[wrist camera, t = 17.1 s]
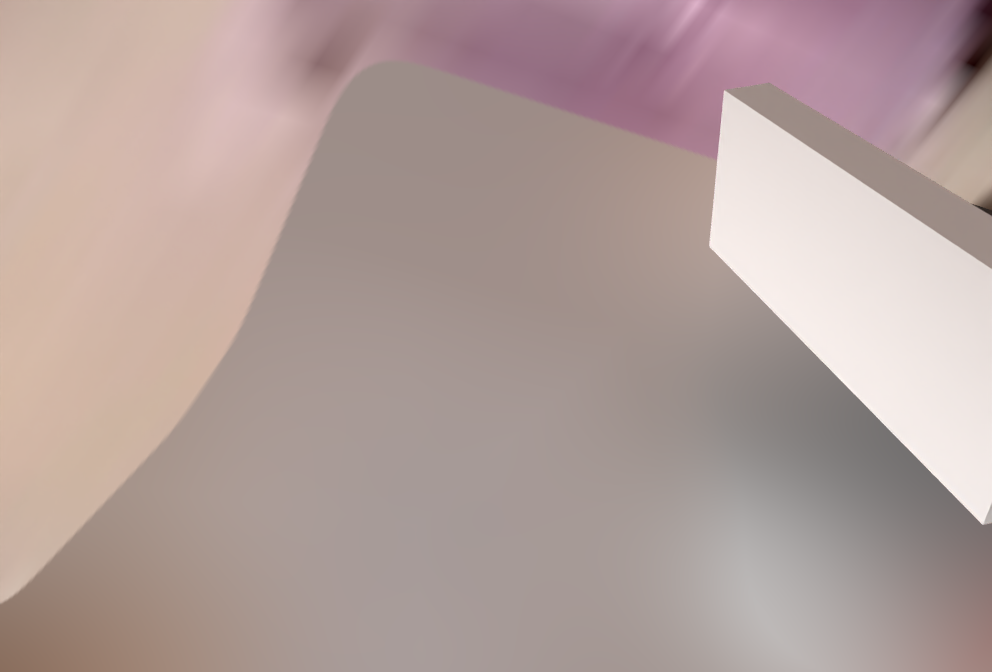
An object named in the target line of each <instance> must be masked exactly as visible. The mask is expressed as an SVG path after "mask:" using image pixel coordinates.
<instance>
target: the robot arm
mask: <svg viewBox="0 0 992 672" xmlns="http://www.w3.org/2000/svg"><path fill="white" fill-rule="evenodd" d="M709 246H710V247H711V249H713V251H714V252H715V253H717V255H718V256H719V257H720V258H721V259H722V260H723V261H724V262H725V263H726V264H727V265H728V266H729V267H730V268H731V269H732V270H733V271H734V272H735V273H736V274H737V275H738V276H739V277H740V278H741V279H742V280H743V281H744V282H745V283H746V284H747V285H748V286H749V287H750V288H751V289H752V290H753V291H754V292H755V293H756V294H757V295H758V296H759V297H760V298H761V299H762V300H763V301H764V302H765V304H766V305H768V307H769V308H770V309H772V311H773V312H775V314H776V315H777V316H779V318H780V319H781V320H782V321H783V322H784V323H785V324H786V325H787V326H788V327H789V328H790V329H791V330H792V331H793V332H794V333H795V334H796V335H797V336H798V337H799V338H800V339H801V340H802V341H803V342H804V343H805V344H806V345H807V346H808V347H809V348H810V349H811V350H812V351H813V352H814V353H815V354H816V355H817V356H818V357H819V358H820V360H821V361H822V362H823V363H824V364H826V366H827V367H828V368H829V369H830V370H831V371H832V372H833V373H834V374H835V375H836V376H837V377H838V378H839V379H840V380H841V381H842V382H843V383H844V384H845V385H846V386H847V387H848V388H849V389H850V390H851V391H852V392H853V393H854V394H855V395H856V396H857V397H858V398H859V399H860V400H861V401H862V402H863V403H864V404H865V405H866V406H867V407H868V408H869V409H870V410H871V411H872V412H873V413H874V414H875V416H876V417H877V418H879V420H880V421H881V422H882V423H883V424H884V425H885V426H886V427H887V428H888V429H889V430H890V431H891V432H892V433H893V434H894V435H895V436H896V437H897V438H898V439H899V440H900V441H901V442H902V443H903V444H904V445H905V446H906V447H907V448H908V449H909V450H910V451H911V452H912V453H913V454H914V455H915V456H916V457H917V458H918V459H919V460H920V461H921V462H922V463H923V464H924V465H925V466H926V467H927V469H929V471H930V472H931V473H932V474H933V475H934V476H935V477H936V478H937V479H938V480H939V481H940V482H941V483H942V484H943V485H944V486H945V487H946V488H947V489H948V490H949V491H950V492H951V493H952V494H953V495H954V496H955V497H956V498H957V499H958V500H959V501H960V502H961V503H962V504H963V505H964V506H965V507H966V508H967V509H968V510H969V511H970V512H971V513H972V514H973V515H974V516H975V517H976V518H977V519H978V520H979V521H980V522H981V523H982V525H985V524H988V523H992V210H989V209H986V208H983V207H980V206H977V205H974V204H971V203H969V202H967V201H966V200H964V199H962V198H961V197H959V196H957V195H956V194H954V193H952V192H951V191H949V190H947V189H946V188H944V187H942V186H941V185H939V184H937V183H936V182H934V181H932V180H931V179H929V178H927V177H926V176H924V175H922V174H921V173H919V172H917V171H916V170H914V169H912V168H911V167H909V166H907V165H906V164H904V163H902V162H901V161H899V160H897V159H896V158H894V157H892V156H891V155H889V154H887V153H886V152H884V151H882V150H881V149H879V148H877V147H875V146H874V145H872V144H870V143H869V142H867V141H865V140H864V139H862V138H860V137H859V136H857V135H855V134H854V133H852V132H850V131H849V130H847V129H845V128H844V127H842V126H840V125H839V124H837V123H835V122H834V121H832V120H830V119H829V118H827V117H825V116H824V115H822V114H820V113H819V112H817V111H815V110H814V109H812V108H810V107H809V106H807V105H805V104H804V103H802V102H800V101H799V100H797V99H795V98H794V97H792V96H790V95H789V94H787V93H785V92H784V91H782V90H780V89H779V88H777V87H775V86H774V85H772V84H770V83H766V84H759V85H753V86H747V87H741V88H734V89H728V90H724V97H723V108H722V118H721V129H720V139H719V150H718V160H717V172H716V181H715V192H714V202H713V213H712V224H711V235H710V245H709Z"/></svg>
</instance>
